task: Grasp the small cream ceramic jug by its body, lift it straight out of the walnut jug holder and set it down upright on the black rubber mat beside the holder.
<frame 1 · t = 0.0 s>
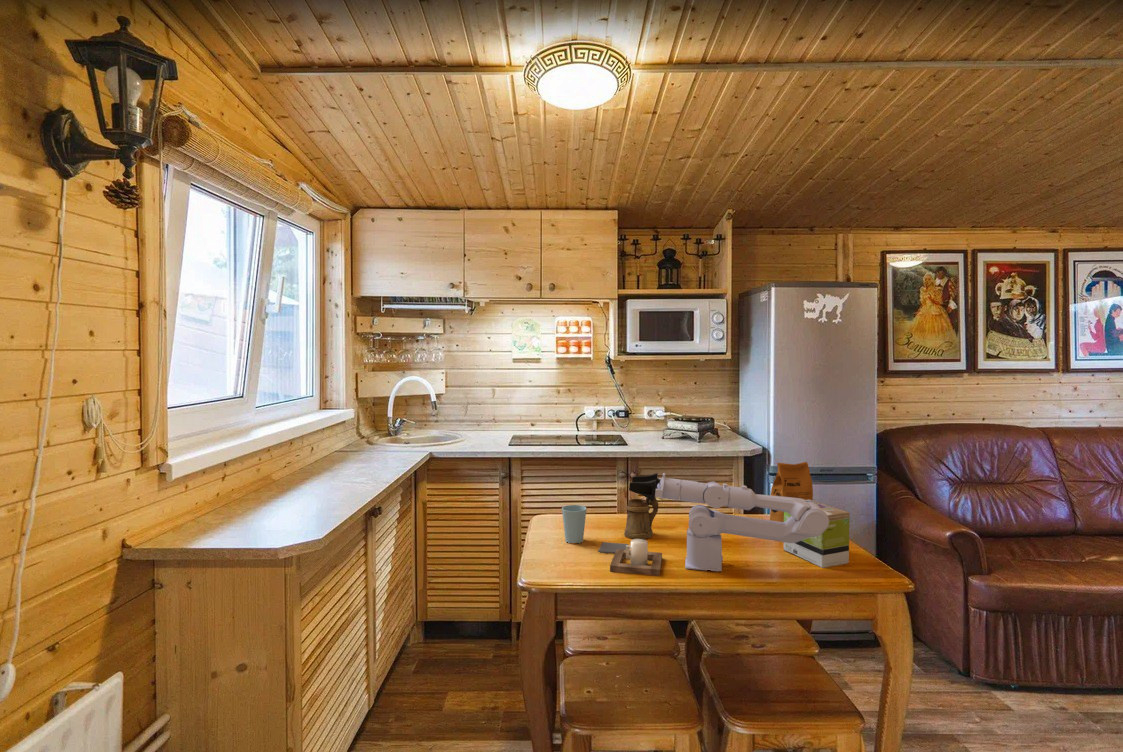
hand: (630, 483, 155), 22 cm above the table, tool horizontal, fingers open, 7 cm apart
wooden mug: (645, 535, 178), on the table
mat: (613, 549, 164), on the table
jug: (639, 565, 152), resting in jug holder
coffee package: (790, 528, 185), on the table
jug holder: (636, 564, 152), on the table
tea box: (815, 557, 158), on the table
cup: (574, 541, 172), on the table
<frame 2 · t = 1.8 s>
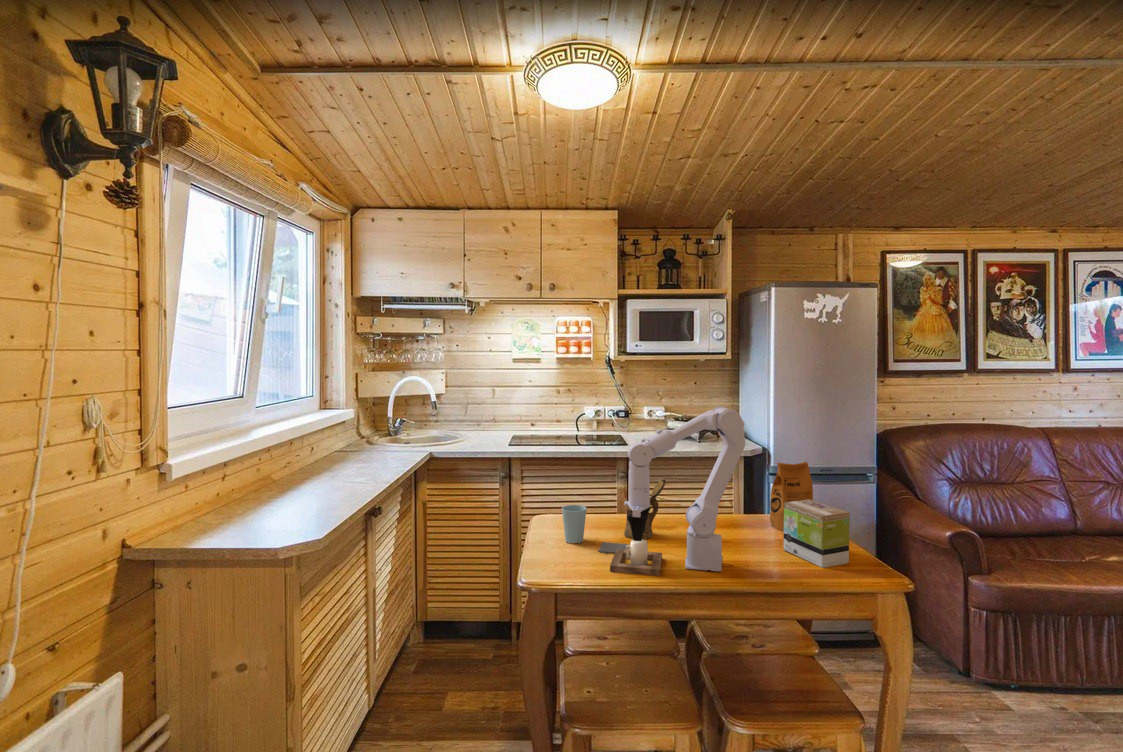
hand: (638, 536, 152), 8 cm above the table, tool pointing down, fingers open, 7 cm apart
nothing on the table moved.
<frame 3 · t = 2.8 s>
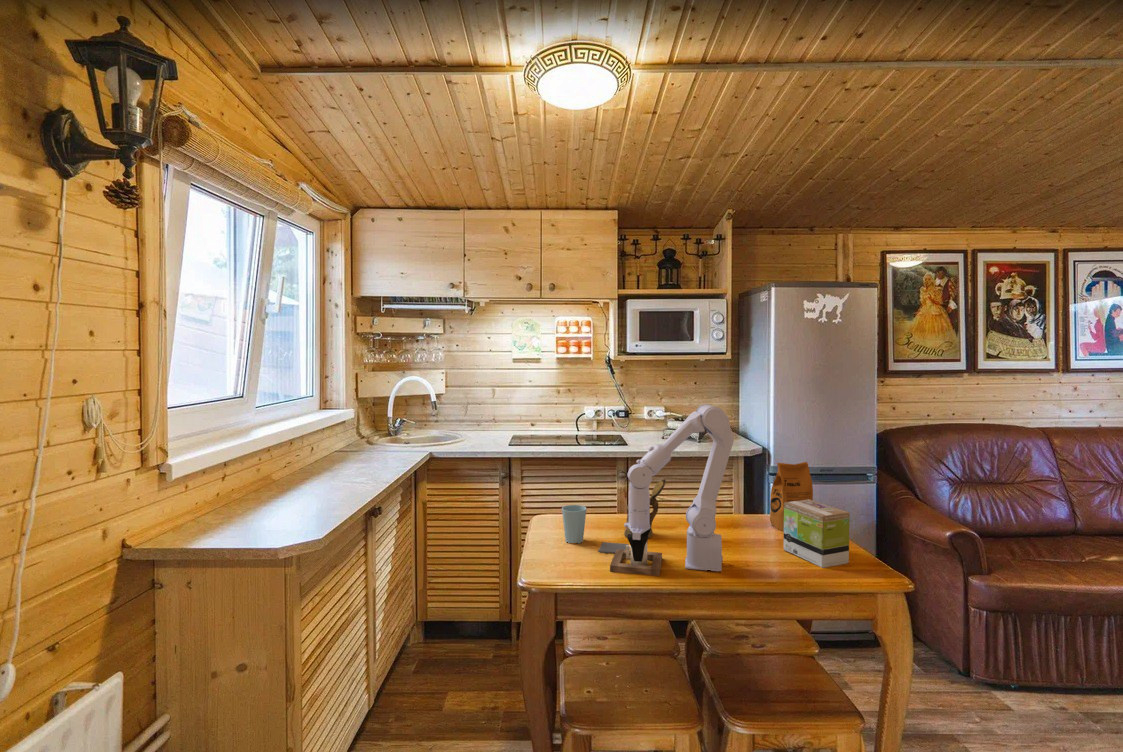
hand: (639, 557, 152), 2 cm above the table, tool pointing down, fingers closed on jug, 5 cm apart
jug: (639, 564, 152), resting in jug holder, touching gripper
everything else where it was.
when the fingers open (3 cm above the table, at t = 6.8 s): jug stays where it is, resting on mat.
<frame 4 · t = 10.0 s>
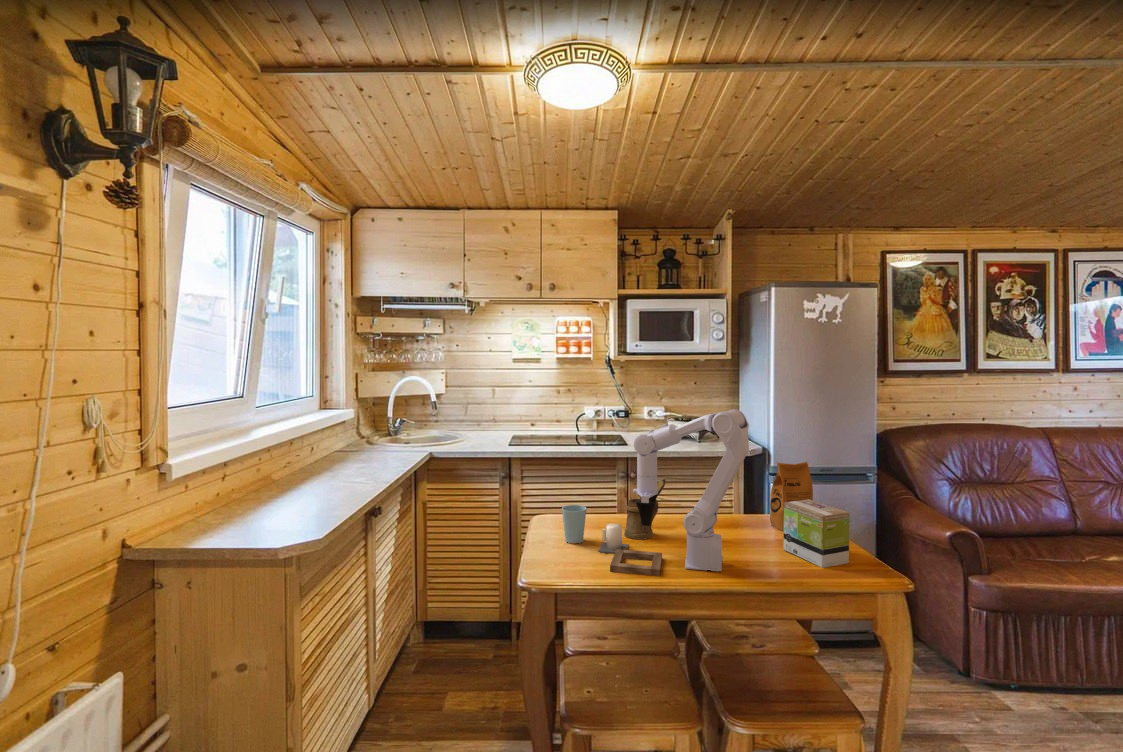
hand: (647, 521, 160), 9 cm above the table, tool pointing down, fingers open, 7 cm apart
jug: (614, 547, 165), resting on mat
everything else where it was.
at the end: jug 0.1 cm off-centre on the mat, point 0.5 cm above the mat's base; jug tilted 0°; the gripper is holding nothing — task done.
